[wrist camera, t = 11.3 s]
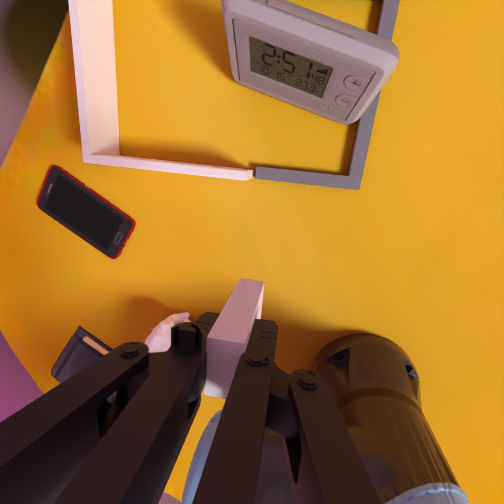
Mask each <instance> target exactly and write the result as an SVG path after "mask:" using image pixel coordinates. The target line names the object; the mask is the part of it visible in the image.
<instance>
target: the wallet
mask: <svg viewBox="0 0 504 504" xmlns="http://www.w3.org/2000/svg"><path fill="white" fill-rule="evenodd" d="M112 350H113V349H111V348H110V347H109V346H107V345H106V344H104V343H103V342H101V341H100V340H99V339H97V338H96V337H94V336H93V335H92V334H90V333H89V332H87V331H86V330H85V329H83V328H82V327H80V326H79V327H78V329H77V331H76V332H75V333H74V335H73V336H72V337H71V339H70V340H69V342H68V344H67V345H66V347H65V348H64V350H63V352H62V353H61V355H60V356H59V358H58V360H57V361H56V363H55V364H54V366H53V368H52V370H51V375H52V376H53V377H54V378H56V380H57V381H59V382H60V383H62V382H64V381H65V380H67V379H68V378H70V377H72V376H73V375H75V374H76V373H78V372H79V371H81V370H82V369H84V368H86V367H87V366H89V365H90V364H92V363H93V362H95V361H96V360H98V359H99V358H101V357H103V356H104V355H106V354H107V353H109V352H110V351H112ZM114 396H115V395H114V393H113V394H112V395H111V396H109V397H108V398H107V401H108V400H110V399H112V398H113V397H114Z"/></svg>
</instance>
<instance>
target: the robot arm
mask: <svg viewBox="0 0 504 504" xmlns="http://www.w3.org/2000/svg"><path fill="white" fill-rule="evenodd" d="M263 290H264V282H262V281H255V280H247V279H240V280H239V281H238V283H237V285H236V287H235V288H234V290H233V292H232V294H231V295H230V297H229V299H228V301H227V303H226V304H225V306H224V308H223V310H222V311H221V313H220V314H218V313H211V312H206V313H204V314H203V315H201V316H200V317H199V318H198V320H197V321H196V323H193V322H183V323H179V324H176V325H174V326H173V327H171V346H170V348H169V349H168V350H167V351H165V352H150V353H149V348H148V346H147V345H146V344H144V343H141V342H129V343H124V344H122V345H120V346H118V347H116V348H115V349H113V350H112V351H110V352H109V353H107V354H106V355H104V356H103V357H101V358H99V359H98V360H96V361H95V362H93V363H92V364H90V365H89V366H87V367H86V368H84V369H82V370H81V371H79V372H78V373H76V374H75V375H73V376H72V377H70V378H68V379H67V380H65V381H64V382H62V383H61V384H59V385H58V386H56V387H55V388H53V389H51V390H50V391H48V392H47V393H45V394H44V395H42V396H41V397H39V398H38V399H36V400H35V401H33V402H31V403H30V404H28V405H27V406H25V407H24V408H22V409H21V410H19V411H17V412H16V413H14V414H13V415H11V416H10V417H9V418H7V419H5V420H4V421H2V422H0V504H158V503H159V500H160V498H161V496H162V493H163V491H164V489H165V486H166V484H167V482H168V479H169V477H170V475H171V472H172V470H173V468H174V465H175V463H176V460H177V458H178V456H179V453H180V451H181V449H182V446H183V444H184V442H185V439H186V437H187V435H188V432H189V430H190V427H191V425H192V423H193V420H194V418H195V416H196V413H197V411H198V409H199V406H200V402H201V392H202V390H203V388H204V386H205V392H204V395H207V396H213V397H218V398H223V399H226V401H225V404H224V407H223V409H221V410H219V411H218V412H217V413H216V414H215V415H214V416H213V417H212V418H211V420H210V421H209V423H208V425H207V426H206V428H205V430H204V432H203V434H202V436H201V438H200V440H199V443H198V445H197V448H196V451H195V453H194V456H193V459H192V462H191V465H190V468H189V472H188V475H187V479H186V483H185V487H184V492H183V497H182V504H469V501H468V498H467V496H466V494H465V492H464V491H463V490H462V489H461V488H460V486H459V484H458V482H457V480H456V478H455V476H454V474H453V472H452V470H451V468H450V466H449V464H448V462H447V460H446V458H445V456H444V454H443V452H442V450H441V448H440V446H439V444H438V442H437V440H436V438H435V436H434V434H433V432H432V430H431V428H430V426H429V424H428V422H427V420H426V418H425V416H424V414H423V412H422V408H421V395H420V382H419V377H418V374H417V371H416V369H415V367H414V365H413V364H412V362H411V360H410V358H409V357H408V355H407V354H406V353H405V352H404V350H403V349H401V348H400V347H399V346H398V345H396V344H395V343H393V342H391V341H389V340H387V339H385V338H382V337H379V336H374V335H367V334H357V335H350V336H345V337H342V338H340V339H337V340H335V341H333V342H331V343H330V344H328V345H327V346H326V347H325V348H323V349H322V351H321V352H320V353H319V354H318V356H317V357H316V359H315V361H314V364H313V369H312V371H310V370H304V369H303V370H297V371H295V372H293V373H292V374H291V375H290V374H287V373H285V372H284V371H282V370H281V369H279V368H278V367H277V366H276V364H275V362H274V357H275V349H276V341H277V332H278V326H277V325H276V323H275V321H269V320H262V319H261V311H262V301H263ZM113 393H114V395H115V396H114V397H113V398H112V399H110V400H108V401H107V398H108V397H109V396H111V395H112V394H113Z"/></svg>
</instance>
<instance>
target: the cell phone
mask: <svg viewBox="0 0 504 504" xmlns="http://www.w3.org/2000/svg"><path fill="white" fill-rule="evenodd" d="M37 206H38V208H39V209H41V210H42V211H43V212H44V213H46V214H47V215H49V216H50V217H52V218H53V219H54V218H55V219H54V220H56V221H57V220H58V221H57V222H59V223H60V224H62V225H63V226H65V227H66V228H67V229H69V230H70V231H72V232H73V233H75V234H76V235H77V236H79V237H80V238H82V239H83V240H85V241H86V242H88V243H89V244H90V245H92V246H93V247H95V248H96V249H98V250H99V251H100V252H102V253H103V254H105V255H106V256H108V257H110V258H111V259H116V258H117V257H119V255H120V254H121V251H122V250H123V248H124V246H125V243H126V241H127V240H128V239H129V237H130V235H131V232H133V231H132V230H134V228H135V225H136V223H135V221H134V220H133V219H132V218H131V217H130V216H129V215H127V214H126V213H124V212H123V211H122V210H120V209H119V208H117V207H116V206H115V205H113V204H112V203H110V202H109V201H108V200H106V199H105V198H103V197H102V196H100V195H99V194H98V193H96V192H95V191H93V190H92V189H91V188H90V189H89V188H88V187H87V186H85V184H84V183H82V182H81V181H79V180H78V179H77V178H75V177H74V176H72V175H71V174H69V173H68V172H67V171H65V170H64V169H62V168H61V167H59V166H51V168H50V169H49V171H48V174H47V176H46V179H45V182H44V184H43V187H42V189H41V192H40V195H39V197H38V200H37Z"/></svg>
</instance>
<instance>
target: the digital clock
mask: <svg viewBox="0 0 504 504" xmlns="http://www.w3.org/2000/svg"><path fill="white" fill-rule="evenodd" d="M221 5H222V13H223V19H224V26H225V32H226V39H227V45H228V52H229V58H230V65H231V70H232V74H233V77H234V80H235V81H236V82H237V83H239V84H241V85H244V86H246V87H249V88H251V89H254V90H256V91H259V92H261V93H264V94H267V95H269V96H272V97H274V98H277V99H279V100H282V101H285V102H287V103H290V104H292V105H295V106H298V107H300V108H303V109H305V110H308V111H311V112H313V113H316V114H318V115H321V116H324V117H326V118H329V119H331V120H334V121H337V122H340V123H342V124H346V125H349V124H351V123H353V122H355V121H357V120H358V119H359V118H360V117H361V116H362V114H363V113H364V112H365V110H366V109H367V108H368V106H369V105H370V103H371V102H372V101H373V99H374V98H375V96H376V95H377V94H378V92H379V91H380V89H381V88H382V87H383V85H384V84H385V83H386V81H387V80H388V78H389V77H390V76H391V74H392V73H393V71H394V70H395V68H396V66H397V64H398V61H399V50H398V48H397V46H396V45H395V44H394V43H393V42H392V41H390V40H388V39H386V38H383V37H381V36H378V35H376V34H373V33H371V32H368V31H366V30H363V29H360V28H358V27H355V26H352V25H350V24H347V23H344V22H342V21H339V20H336V19H334V18H331V17H328V16H326V15H323V14H320V13H318V12H315V11H312V10H310V9H307V8H304V7H302V6H299V5H296V4H293V3H291V2H288V1H285V0H221Z"/></svg>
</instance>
